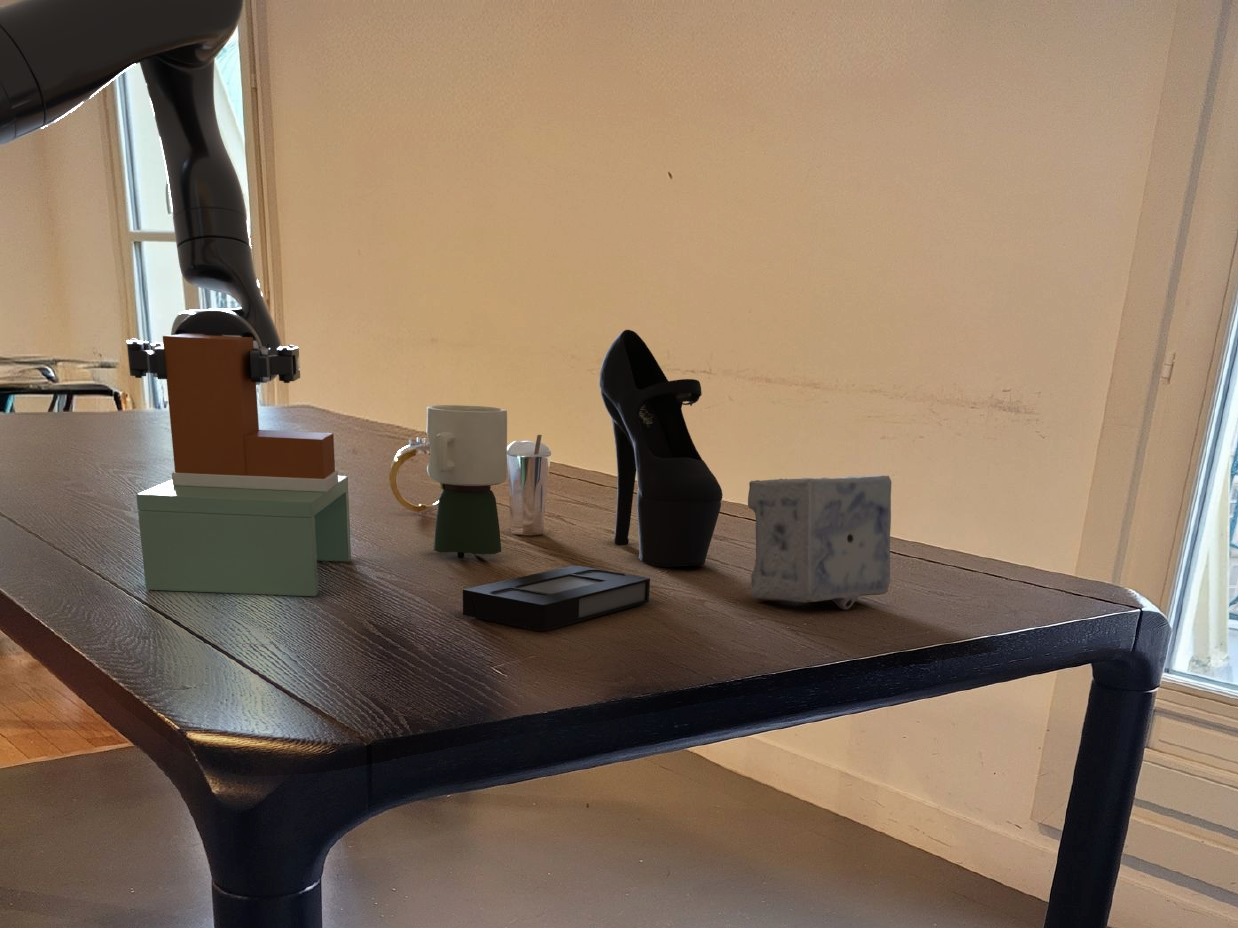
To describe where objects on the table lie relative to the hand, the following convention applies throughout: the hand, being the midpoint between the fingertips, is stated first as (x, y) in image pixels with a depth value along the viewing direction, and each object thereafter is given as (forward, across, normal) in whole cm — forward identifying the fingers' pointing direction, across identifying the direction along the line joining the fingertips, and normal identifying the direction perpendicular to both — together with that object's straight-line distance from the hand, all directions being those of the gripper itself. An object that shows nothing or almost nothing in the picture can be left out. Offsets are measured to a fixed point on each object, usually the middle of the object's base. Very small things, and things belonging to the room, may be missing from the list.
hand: (208, 365), depth 98 cm
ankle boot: (-2, +3, +9) cm, 10 cm away
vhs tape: (+12, +25, +16) cm, 33 cm away
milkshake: (-23, +29, +16) cm, 40 cm away
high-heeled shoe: (-10, +39, +16) cm, 44 cm away
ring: (-35, +19, +17) cm, 43 cm away
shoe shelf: (-2, +2, +16) cm, 16 cm away
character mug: (-10, +21, +16) cm, 29 cm away
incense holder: (+10, +47, +16) cm, 51 cm away
